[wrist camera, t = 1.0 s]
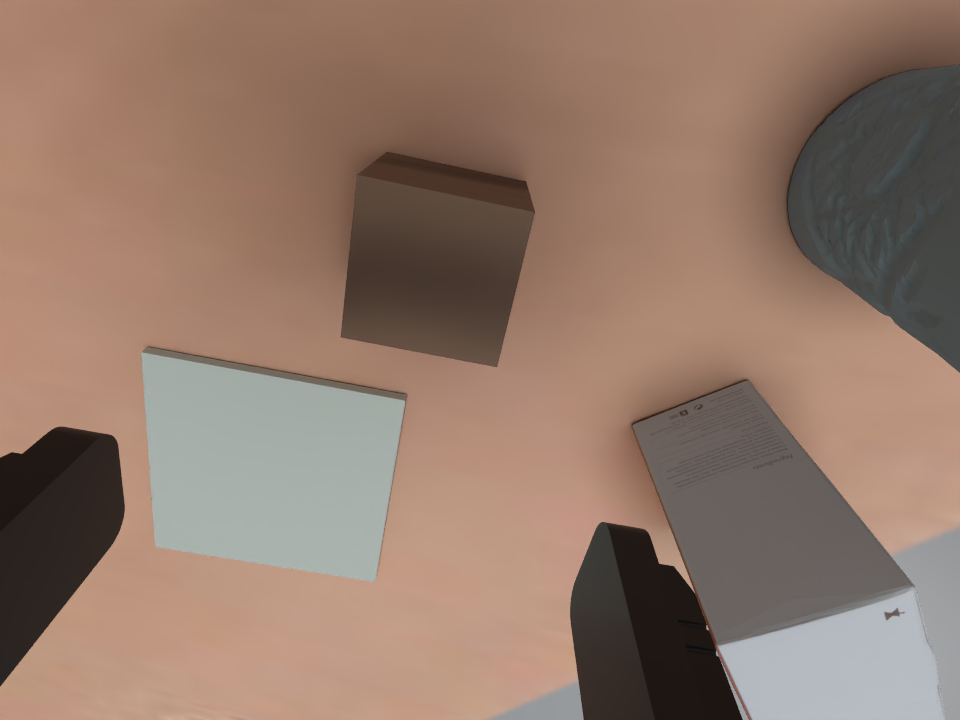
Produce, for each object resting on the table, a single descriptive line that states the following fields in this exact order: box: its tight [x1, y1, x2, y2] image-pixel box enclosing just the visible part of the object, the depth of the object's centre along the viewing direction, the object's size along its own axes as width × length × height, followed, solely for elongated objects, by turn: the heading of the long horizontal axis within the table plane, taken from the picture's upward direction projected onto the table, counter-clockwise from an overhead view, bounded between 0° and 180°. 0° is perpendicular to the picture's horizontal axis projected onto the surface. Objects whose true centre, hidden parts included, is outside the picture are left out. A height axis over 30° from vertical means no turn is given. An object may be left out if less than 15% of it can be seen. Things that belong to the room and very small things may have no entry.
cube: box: [341, 152, 535, 367], centre depth 23 cm, size 6×6×6 cm
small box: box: [632, 381, 946, 720], centre depth 25 cm, size 8×6×13 cm
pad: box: [141, 347, 407, 582], centre depth 32 cm, size 13×13×1 cm
